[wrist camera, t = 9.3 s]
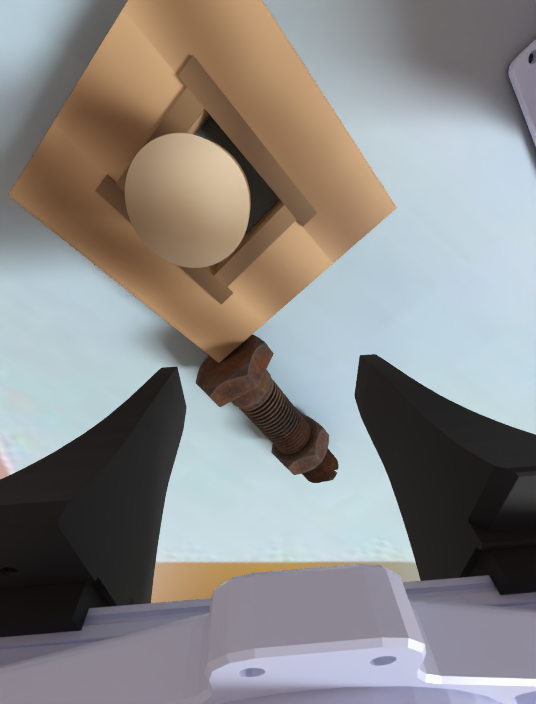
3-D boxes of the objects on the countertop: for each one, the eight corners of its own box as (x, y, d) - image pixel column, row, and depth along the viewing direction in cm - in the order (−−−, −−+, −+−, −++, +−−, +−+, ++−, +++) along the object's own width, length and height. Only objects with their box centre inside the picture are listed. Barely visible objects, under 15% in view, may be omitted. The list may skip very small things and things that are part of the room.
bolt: (308, 441, 32) (219, 336, 25) (355, 443, 29) (269, 323, 22) (291, 498, 29) (180, 395, 21) (342, 507, 25) (233, 389, 18)
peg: (172, 136, 17) (119, 116, 10) (255, 154, 17) (260, 146, 11) (170, 225, 19) (126, 259, 12) (244, 238, 20) (242, 277, 13)
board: (202, -64, 13) (192, -111, 11) (380, 202, 19) (398, 208, 17) (37, 191, 18) (5, 195, 15) (221, 344, 23) (218, 364, 21)
